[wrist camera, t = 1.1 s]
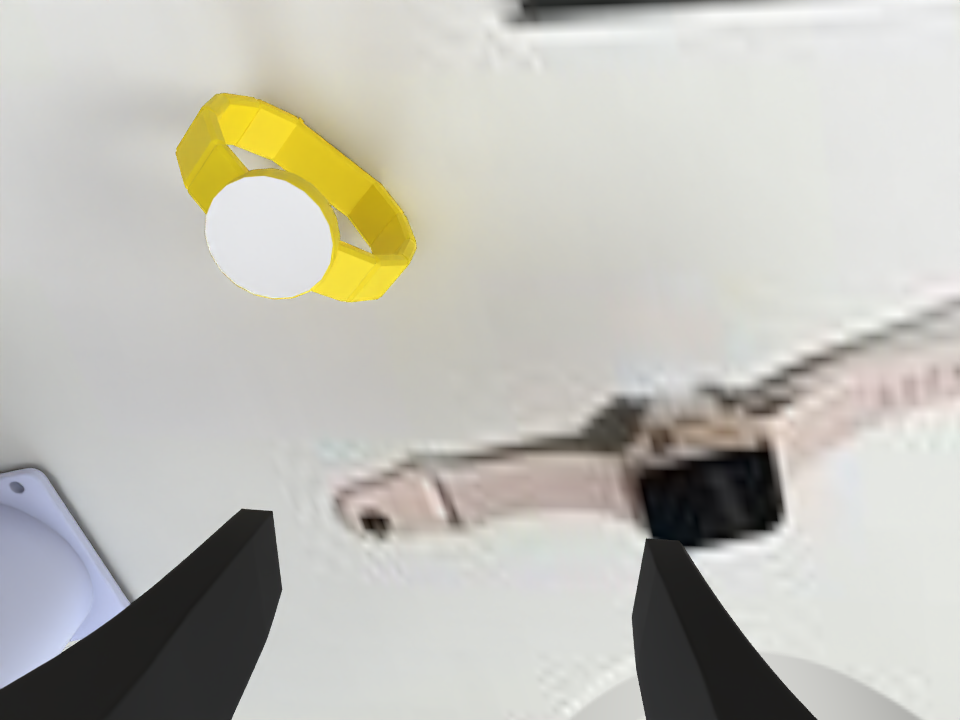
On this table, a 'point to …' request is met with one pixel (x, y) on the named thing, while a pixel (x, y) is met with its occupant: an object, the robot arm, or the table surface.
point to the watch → (289, 206)
